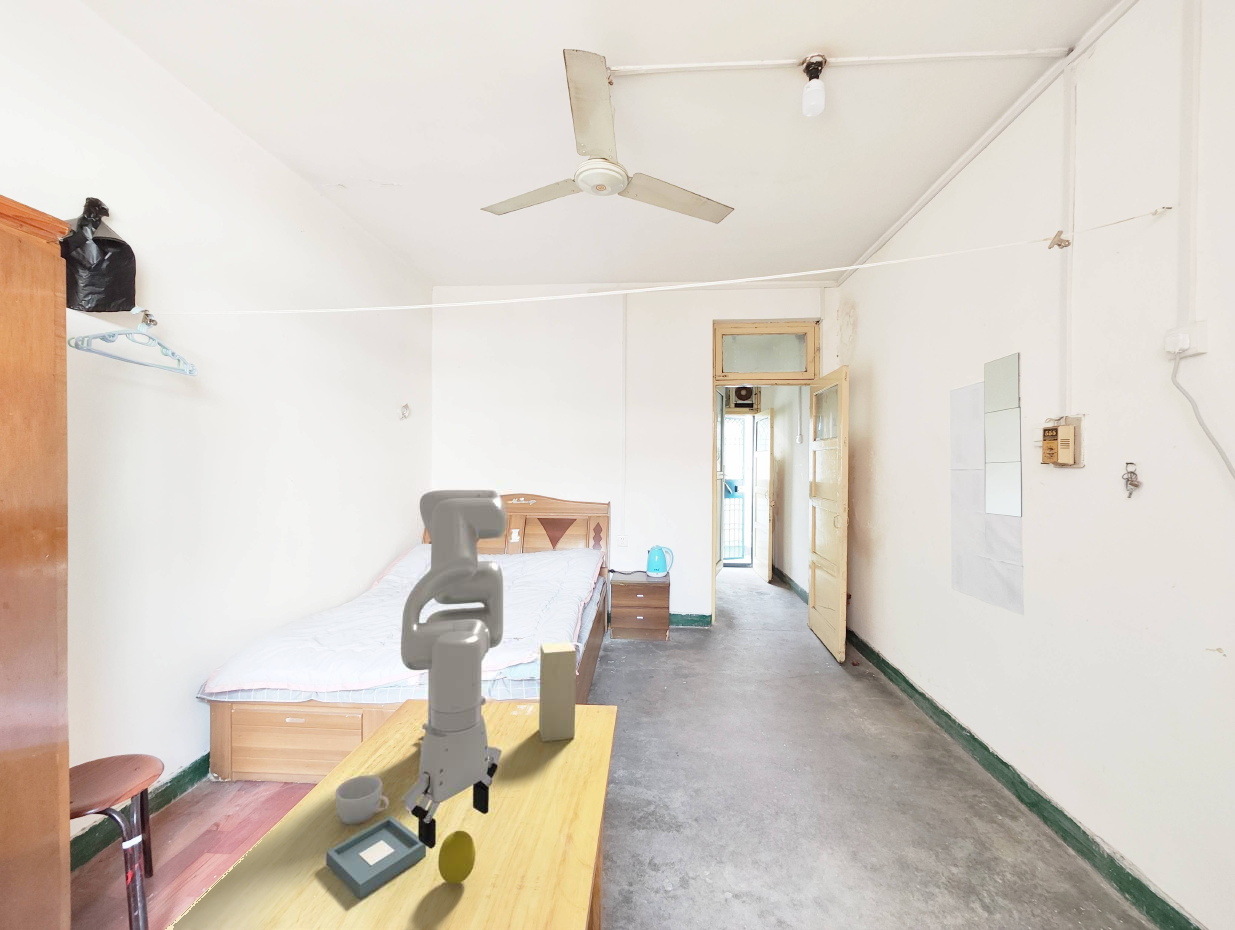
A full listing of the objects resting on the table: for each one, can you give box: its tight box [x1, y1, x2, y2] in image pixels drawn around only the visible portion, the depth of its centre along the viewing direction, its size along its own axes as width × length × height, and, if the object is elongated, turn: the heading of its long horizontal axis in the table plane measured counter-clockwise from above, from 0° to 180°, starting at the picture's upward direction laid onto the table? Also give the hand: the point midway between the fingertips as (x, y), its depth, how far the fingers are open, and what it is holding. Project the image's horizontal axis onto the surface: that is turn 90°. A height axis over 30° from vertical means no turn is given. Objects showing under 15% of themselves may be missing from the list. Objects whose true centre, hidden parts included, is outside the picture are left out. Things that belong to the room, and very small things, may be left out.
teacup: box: [335, 774, 390, 826], centre depth 96 cm, size 10×8×5 cm
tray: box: [325, 815, 427, 900], centre depth 85 cm, size 11×11×2 cm
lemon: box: [437, 830, 476, 885], centre depth 81 cm, size 6×6×8 cm
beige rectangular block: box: [538, 641, 577, 742], centre depth 127 cm, size 8×7×21 cm
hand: (455, 826), depth 80 cm, fingers open, 9 cm apart
